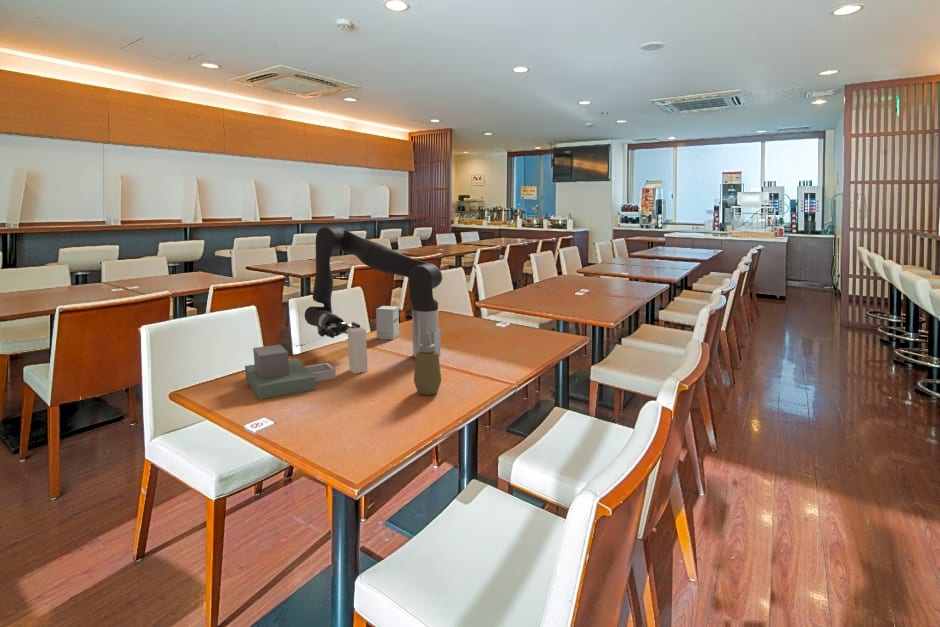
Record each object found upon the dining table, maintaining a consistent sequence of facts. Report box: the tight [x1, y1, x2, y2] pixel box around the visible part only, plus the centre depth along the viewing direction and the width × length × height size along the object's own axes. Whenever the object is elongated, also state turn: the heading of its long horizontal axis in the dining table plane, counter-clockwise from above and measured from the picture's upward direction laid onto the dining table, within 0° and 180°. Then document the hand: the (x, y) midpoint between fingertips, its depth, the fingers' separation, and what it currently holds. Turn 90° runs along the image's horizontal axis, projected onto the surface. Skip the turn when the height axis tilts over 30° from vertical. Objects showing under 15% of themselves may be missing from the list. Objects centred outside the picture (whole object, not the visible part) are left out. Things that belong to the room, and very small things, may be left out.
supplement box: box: [375, 305, 400, 341], centre depth 217 cm, size 7×7×13 cm
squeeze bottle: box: [413, 332, 442, 396], centre depth 153 cm, size 8×8×18 cm
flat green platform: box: [244, 344, 337, 400], centre depth 163 cm, size 24×22×11 cm
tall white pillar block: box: [347, 326, 368, 374], centre depth 173 cm, size 5×5×14 cm
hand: (345, 333), depth 182 cm, fingers open, 8 cm apart
